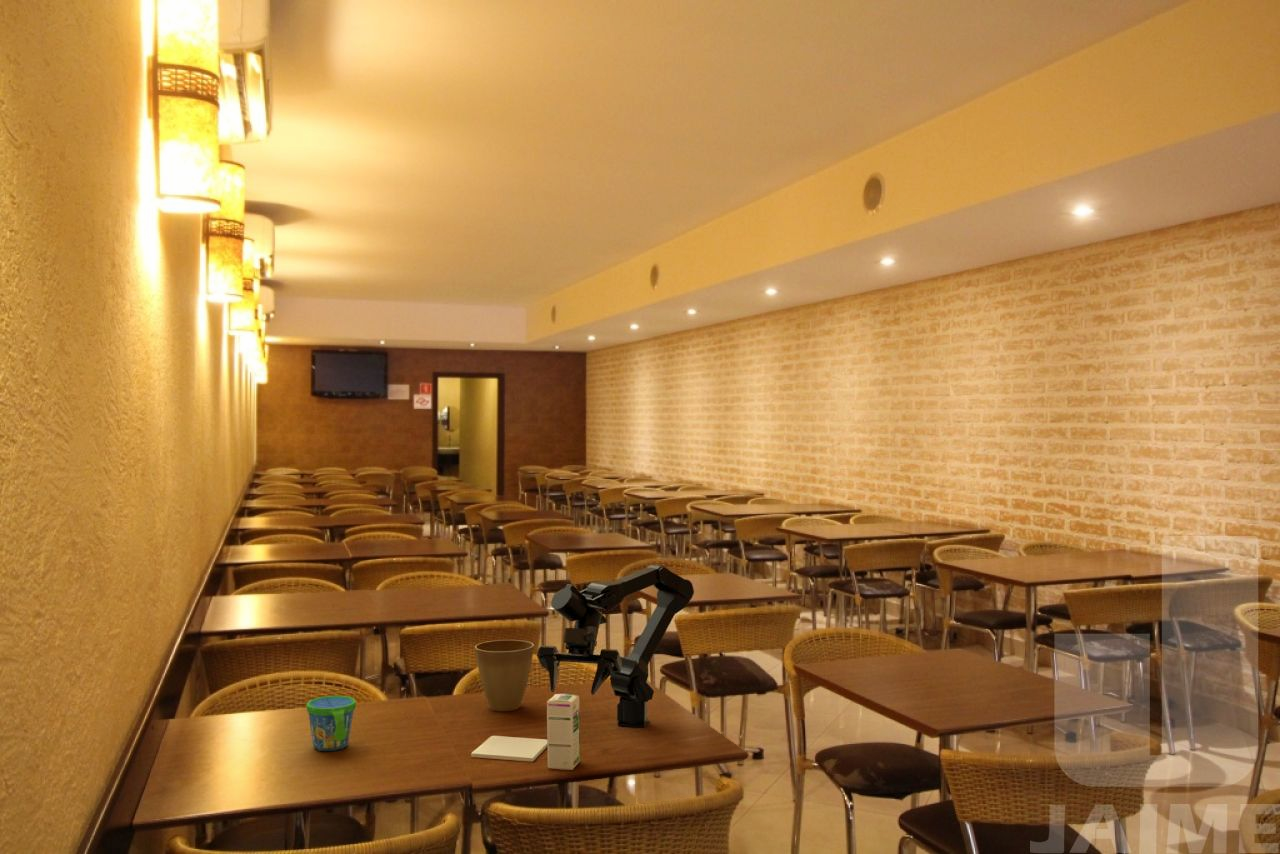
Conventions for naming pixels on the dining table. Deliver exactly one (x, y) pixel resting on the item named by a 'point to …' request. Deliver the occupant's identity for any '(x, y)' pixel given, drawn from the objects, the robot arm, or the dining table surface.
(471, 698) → the dining table surface
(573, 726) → the syrup box
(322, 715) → the snack cup
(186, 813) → the dining table surface
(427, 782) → the dining table surface
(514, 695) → the plant pot
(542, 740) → the cream mat
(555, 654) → the robot arm
